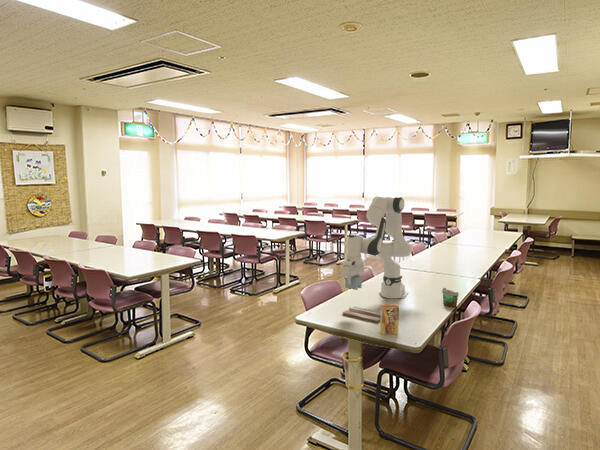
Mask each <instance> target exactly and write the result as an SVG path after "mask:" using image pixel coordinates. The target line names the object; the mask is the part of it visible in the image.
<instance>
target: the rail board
mask: <svg viewBox="0 0 600 450" xmlns="http://www.w3.org/2000/svg"><path fill="white" fill-rule="evenodd" d="M342 316H346V317H349V318H354V319H357V320H361V321H366V322H371V323H375V324H379V323H380V318H381V311H375V310H371V309H366V308H363V307H362V308H361V307H359V306H358V307H357V306H352V307H351V306H349V307H348V309H347V310H345V311H342Z"/></svg>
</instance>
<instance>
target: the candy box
mask: <svg viewBox="0 0 600 450" xmlns="http://www.w3.org/2000/svg"><path fill="white" fill-rule="evenodd" d="M380 312H381V318H380V322H379V323H380V324H379V325H380V327H379V329H380V330H379V332H380V333H381V335H398V334H399V324H400V323H399V322H400V321H399V320H400V319H399V316H400V305H398V304H397V303H383V304H382V303H381V304H380Z"/></svg>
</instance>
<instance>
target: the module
mask: <svg viewBox="0 0 600 450" xmlns="http://www.w3.org/2000/svg"><path fill="white" fill-rule="evenodd" d="M362 277H363V276H361V275H360V276H353V277H352V278H351V281H352V284H348V279H347V278H344V279H345V280H344V283H345V284H344V288H345V289H351V290H355V291H357V290H358V289H362V286H363V285H362V284H363V282H362V281H363V278H362Z"/></svg>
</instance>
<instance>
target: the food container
mask: <svg viewBox="0 0 600 450" xmlns="http://www.w3.org/2000/svg"><path fill="white" fill-rule="evenodd" d="M441 293H442V303H443V304H442V305H443V306H445V307H448V308H457V306H458V298H459V295H460V294H459V292H458V291H457V292H456V291H453V290H450V289H447V288H446V287H443V288H442V290H441Z"/></svg>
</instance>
